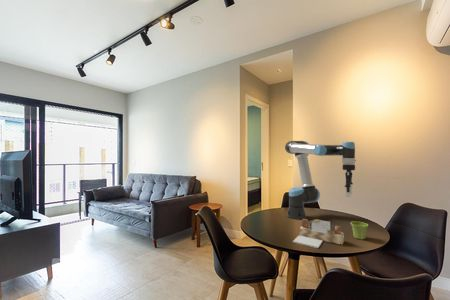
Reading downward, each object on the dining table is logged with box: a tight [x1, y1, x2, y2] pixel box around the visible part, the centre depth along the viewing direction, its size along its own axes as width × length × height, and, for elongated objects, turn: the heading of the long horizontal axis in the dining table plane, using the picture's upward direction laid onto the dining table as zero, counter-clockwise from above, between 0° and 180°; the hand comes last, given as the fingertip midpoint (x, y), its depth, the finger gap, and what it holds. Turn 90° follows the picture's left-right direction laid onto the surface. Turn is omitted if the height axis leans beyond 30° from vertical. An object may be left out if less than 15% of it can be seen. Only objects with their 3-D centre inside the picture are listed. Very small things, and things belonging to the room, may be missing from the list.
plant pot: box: [350, 221, 369, 240], centre depth 136 cm, size 9×9×9 cm
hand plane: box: [299, 218, 345, 246], centre depth 135 cm, size 24×6×10 cm, turn 54°
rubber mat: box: [292, 235, 324, 249], centre depth 129 cm, size 14×11×1 cm
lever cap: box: [312, 218, 331, 234], centre depth 135 cm, size 9×8×6 cm
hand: (349, 195), depth 150 cm, fingers open, 13 cm apart
